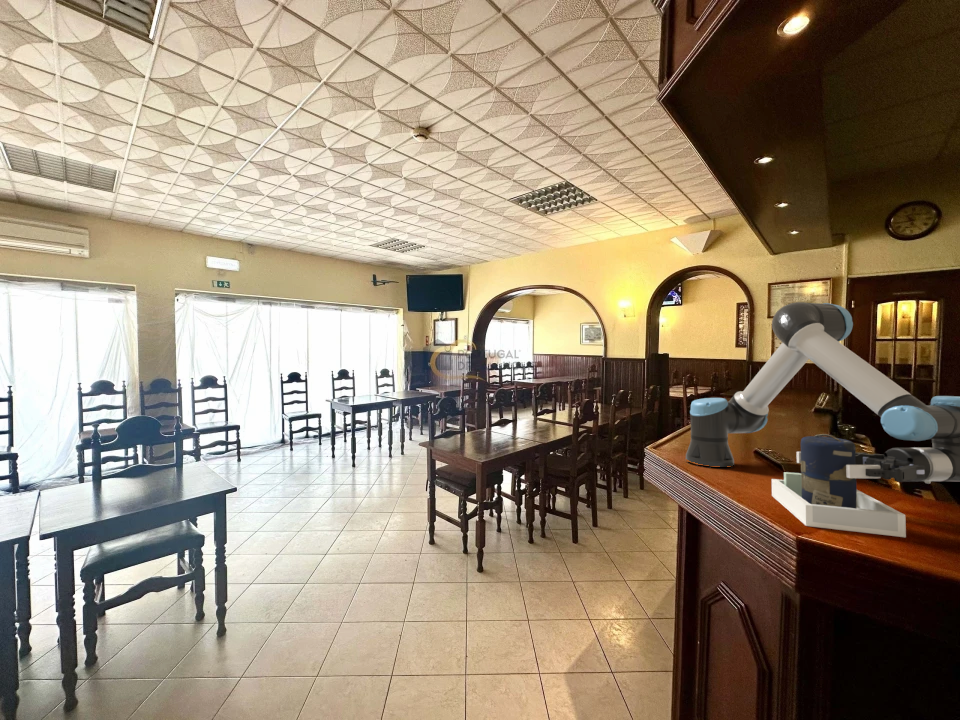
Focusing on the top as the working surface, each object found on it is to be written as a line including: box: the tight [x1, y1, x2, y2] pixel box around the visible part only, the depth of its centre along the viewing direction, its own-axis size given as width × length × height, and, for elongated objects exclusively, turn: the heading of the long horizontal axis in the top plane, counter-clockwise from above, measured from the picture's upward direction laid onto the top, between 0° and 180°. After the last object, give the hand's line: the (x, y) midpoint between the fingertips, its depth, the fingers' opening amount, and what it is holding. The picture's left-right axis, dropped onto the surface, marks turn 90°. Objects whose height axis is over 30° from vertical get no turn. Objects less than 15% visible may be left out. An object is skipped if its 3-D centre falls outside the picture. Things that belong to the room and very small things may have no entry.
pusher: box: [783, 471, 802, 497], centre depth 99 cm, size 2×13×6 cm, turn 69°
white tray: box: [771, 478, 907, 538], centre depth 93 cm, size 22×16×4 cm
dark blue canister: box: [800, 433, 858, 508], centre depth 90 cm, size 10×10×18 cm
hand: (820, 463), depth 91 cm, fingers open, 13 cm apart
